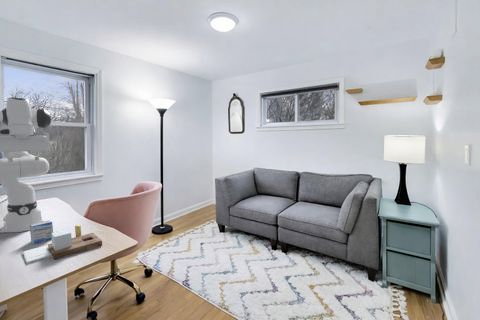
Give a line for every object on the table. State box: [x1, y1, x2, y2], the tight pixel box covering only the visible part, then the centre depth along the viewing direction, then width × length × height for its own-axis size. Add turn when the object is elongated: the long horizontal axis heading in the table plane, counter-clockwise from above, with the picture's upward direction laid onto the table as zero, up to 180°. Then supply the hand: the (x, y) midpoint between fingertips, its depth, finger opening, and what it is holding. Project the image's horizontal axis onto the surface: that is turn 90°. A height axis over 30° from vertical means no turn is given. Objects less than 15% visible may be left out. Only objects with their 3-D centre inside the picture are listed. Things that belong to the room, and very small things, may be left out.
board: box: [47, 232, 103, 260], centre depth 110 cm, size 13×18×6 cm
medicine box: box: [29, 220, 54, 245], centre depth 117 cm, size 8×4×9 cm, turn 143°
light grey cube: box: [51, 228, 73, 251], centre depth 106 cm, size 6×6×6 cm
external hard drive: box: [22, 245, 53, 265], centre depth 103 cm, size 2×8×12 cm
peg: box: [74, 224, 82, 237], centre depth 121 cm, size 2×2×6 cm
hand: (24, 161), depth 113 cm, fingers open, 8 cm apart
